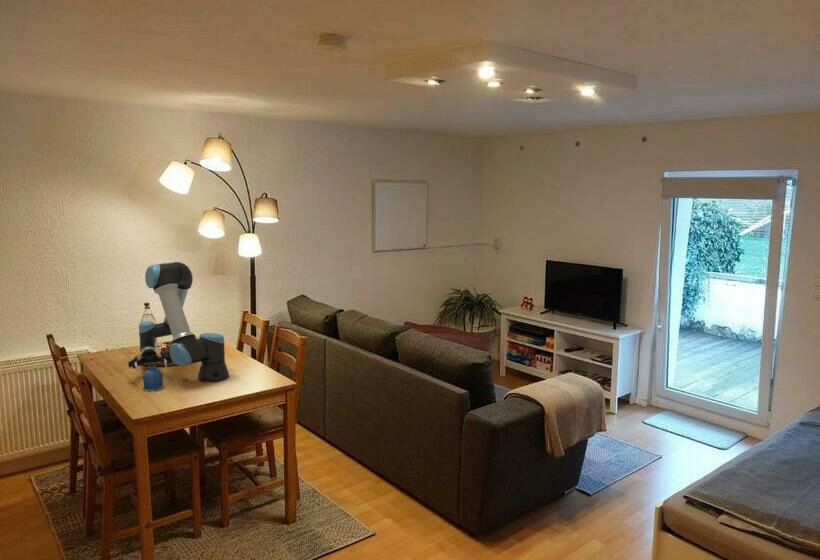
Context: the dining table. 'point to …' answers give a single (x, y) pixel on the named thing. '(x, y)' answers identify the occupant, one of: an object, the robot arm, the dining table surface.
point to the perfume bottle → (152, 377)
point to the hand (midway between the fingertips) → (151, 366)
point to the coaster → (154, 389)
